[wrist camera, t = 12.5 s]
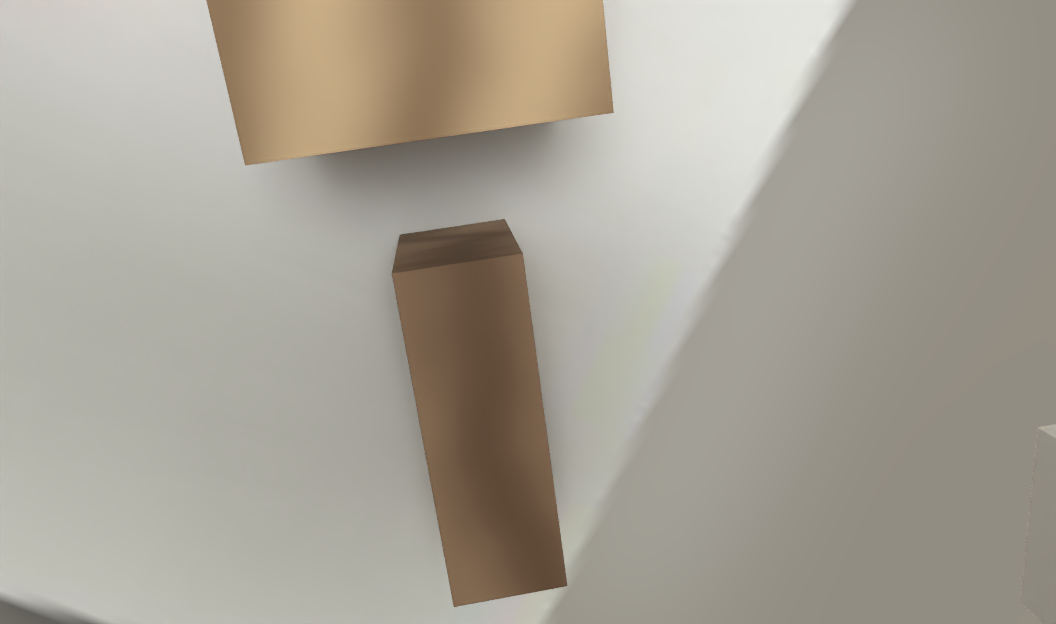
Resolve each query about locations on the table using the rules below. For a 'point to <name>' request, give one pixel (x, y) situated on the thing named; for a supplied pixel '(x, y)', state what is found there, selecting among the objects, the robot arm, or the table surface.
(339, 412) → the table surface
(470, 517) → the walnut block
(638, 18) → the table surface
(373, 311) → the table surface
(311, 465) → the table surface
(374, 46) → the tunnel
